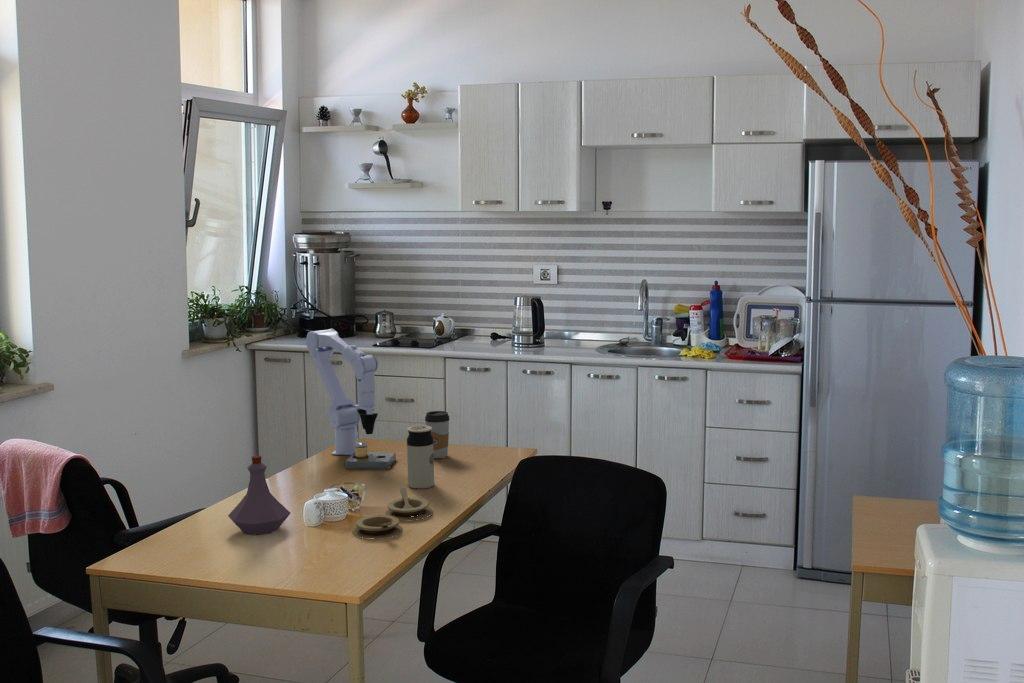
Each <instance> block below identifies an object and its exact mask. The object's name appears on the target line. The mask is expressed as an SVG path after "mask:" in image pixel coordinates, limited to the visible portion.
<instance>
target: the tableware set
mask: <svg viewBox="0 0 1024 683" xmlns="http://www.w3.org/2000/svg"><path fill="white" fill-rule="evenodd" d="M399 491H400V495H401V498H398V499H394V500H391V501H390V502H388V503H387V510H386V511H384V514H373V515H367V516H364V517H361V518H359V519H357V520H356V521H355V527H354V528H353V530H352V532H351V534H352V533H353V534H352V535H353V536H354V535H355V536H354V537H356V536H358V537H361V538H360V539H362V537H363V538H374V539H373V540H380V539H379V538H385V539H389V537H390V538H393V537H392V536H394V537H396V535H397V536H398V534H399V535H400V534H402V533H403V531H402V530H404V529H403V527H402V525H400V521H399V520H413V521H417V520H416V519H420V520H423V519H422V518H424V519H426V518H425V517H427V516H429V515H431V514H432V513H434V511H433V509H432V508H431V507H429V506H430V503H429V501H428V500H427V499H424V498H420V497H408V492H407V489H406V487H401V488H400V489H399ZM422 510H424V511H422ZM422 512H423V513H422ZM419 514H420V515H419ZM397 515H398V516H397ZM417 515H418V516H417ZM432 515H433V514H432ZM432 515H431V516H432ZM411 516H414V517H411ZM429 517H430V516H429ZM427 518H428V517H427ZM358 537H357V538H358Z"/></svg>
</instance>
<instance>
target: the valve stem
mask: <svg viewBox="0 0 1024 683" xmlns="http://www.w3.org/2000/svg"><path fill="white" fill-rule="evenodd" d="M368 451H369V449H368V442H366V441H358V442H357V443H355V457H356V459H363V458H368Z"/></svg>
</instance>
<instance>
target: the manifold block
mask: <svg viewBox="0 0 1024 683" xmlns="http://www.w3.org/2000/svg"><path fill="white" fill-rule="evenodd" d="M396 454H397V453H396V452H386V451H385V452H382V451H381V452H380V451H379V452H378V451H377V452H376V451H375V452H374V451H372V452H371V451H369V452H368V458H363V459H356V457H355V452H354V453H353V454H352V455H349V457H348V458H347V459H346V460H345V461H344V463H345V466H344V467H345V469H346V470H347V469H349V470H350V469H352V470H355V469H356V470H389V469H390V467H391V466H393V464H394V463H393V462H395V461H396V460H397V458H396V457H397V456H396Z"/></svg>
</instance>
